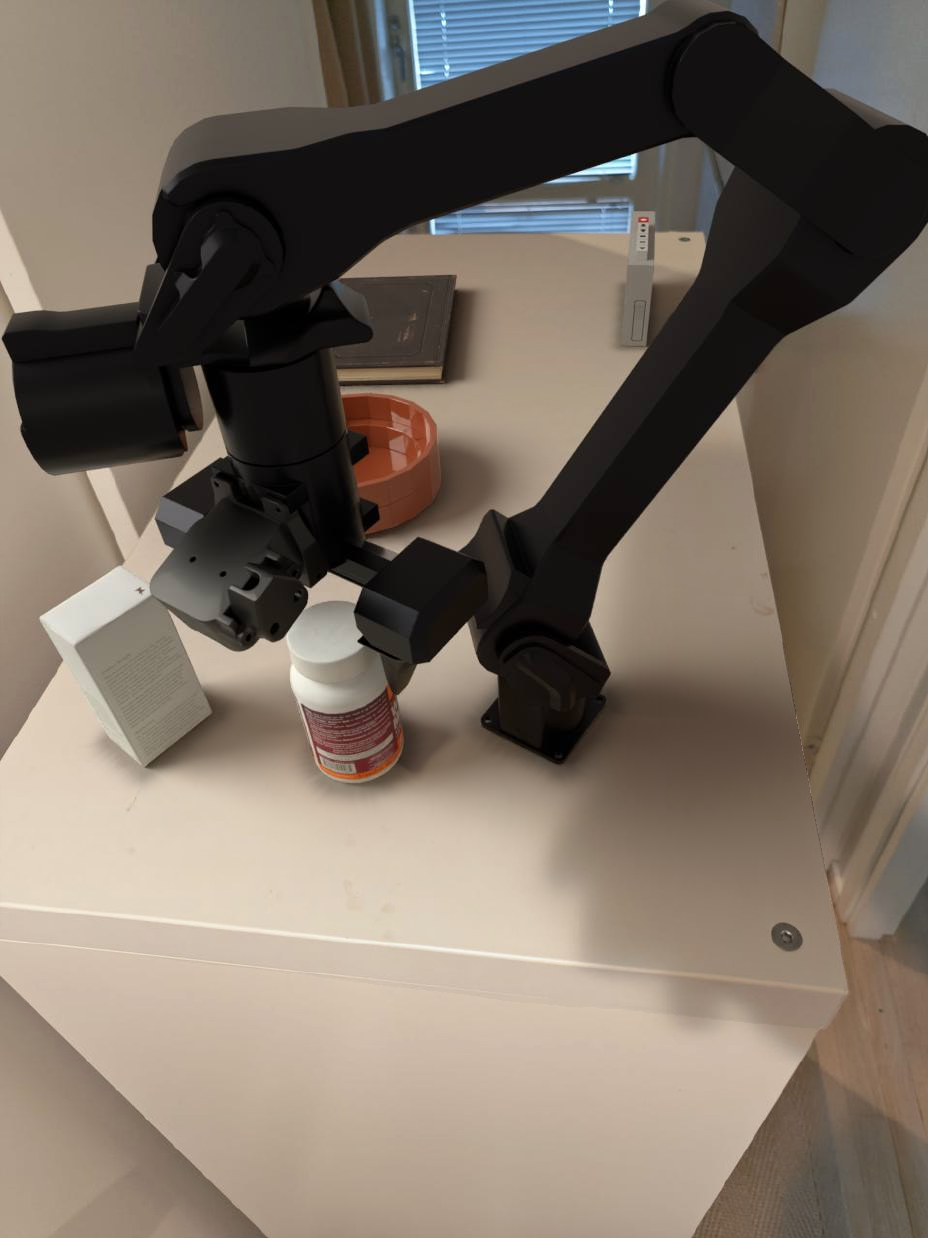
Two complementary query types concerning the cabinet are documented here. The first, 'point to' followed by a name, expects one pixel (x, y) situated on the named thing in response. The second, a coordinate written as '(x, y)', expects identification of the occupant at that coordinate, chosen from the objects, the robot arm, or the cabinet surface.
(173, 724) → the cosmetic box
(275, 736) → the cabinet surface
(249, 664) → the cabinet surface
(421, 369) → the hardcover book
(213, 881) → the cabinet surface
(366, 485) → the bowl
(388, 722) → the pill bottle
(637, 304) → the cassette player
